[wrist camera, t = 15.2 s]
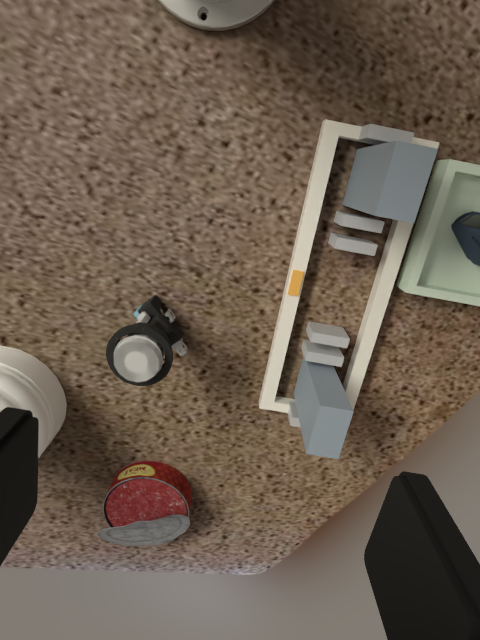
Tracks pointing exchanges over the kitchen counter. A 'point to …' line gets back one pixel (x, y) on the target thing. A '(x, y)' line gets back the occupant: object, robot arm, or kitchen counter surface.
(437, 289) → the tray
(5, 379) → the honey pot
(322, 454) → the rail
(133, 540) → the canned food
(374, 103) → the kitchen counter surface
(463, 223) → the vaping device
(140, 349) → the push button
